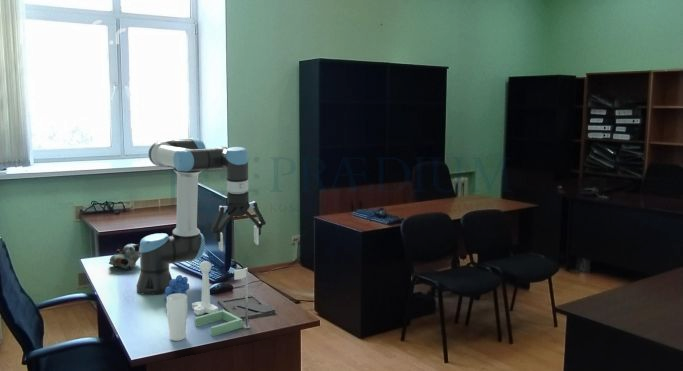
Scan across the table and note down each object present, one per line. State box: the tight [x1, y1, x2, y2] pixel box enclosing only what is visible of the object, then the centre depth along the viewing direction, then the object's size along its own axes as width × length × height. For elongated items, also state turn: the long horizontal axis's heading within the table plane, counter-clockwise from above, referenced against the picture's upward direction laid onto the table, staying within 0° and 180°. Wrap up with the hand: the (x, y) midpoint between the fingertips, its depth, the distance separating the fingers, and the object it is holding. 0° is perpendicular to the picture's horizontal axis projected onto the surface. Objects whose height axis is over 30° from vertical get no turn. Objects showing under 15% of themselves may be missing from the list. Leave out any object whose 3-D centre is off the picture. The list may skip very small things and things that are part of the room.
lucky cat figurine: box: [108, 243, 140, 271], centre depth 277 cm, size 15×12×14 cm
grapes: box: [164, 274, 190, 303], centre depth 230 cm, size 12×7×12 cm, turn 143°
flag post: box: [233, 267, 251, 330], centre depth 207 cm, size 2×6×22 cm, turn 133°
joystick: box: [191, 260, 219, 316], centre depth 222 cm, size 11×8×20 cm
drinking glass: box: [166, 293, 188, 342], centre depth 198 cm, size 7×7×15 cm
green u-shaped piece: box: [194, 309, 243, 337], centre depth 210 cm, size 12×12×3 cm
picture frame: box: [217, 294, 276, 321], centre depth 229 cm, size 16×2×21 cm
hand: (238, 246), depth 212 cm, fingers open, 13 cm apart
